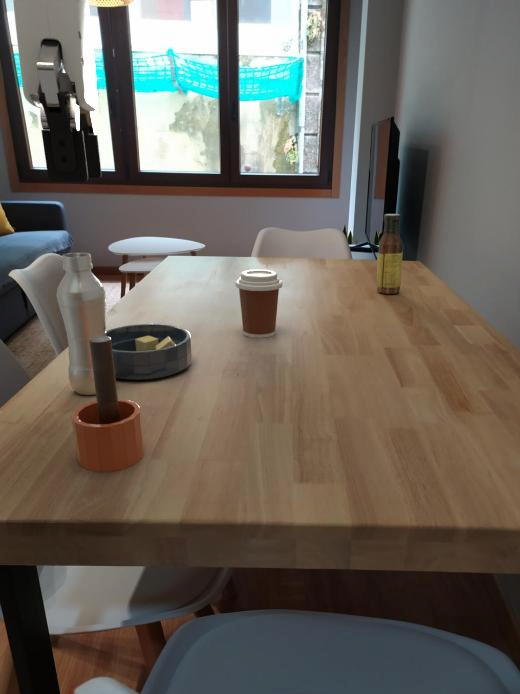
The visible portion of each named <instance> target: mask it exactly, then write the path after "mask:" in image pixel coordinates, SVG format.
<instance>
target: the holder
mask: <svg viewBox="0 0 520 694" xmlns="http://www.w3.org/2000/svg"><path fill="white" fill-rule="evenodd" d="M118 406H119V414H120V421H119V422H115V423H111V424H101V425H100V421H99V414H98V406H97V400H94V401H90V402H88V403H85V404H83V405H80V406H79V407H77V408H76V409H75V410H74V411H73V413H72V416H71V423H72V430H73V436H74V437H73V438H74V444H75V449H76V456H77V461H78V463H79V465H80V466H81V467H82V468H83V469H85V470H87V471H91V472H96V473H110V472H116V471H121V470H124V469H127V468H130V467H131V466H134V465H135V464H137V463H139V462H140V460H142V458H143V457H144V455H145V443H144V433H143V432H144V431H143V423H142V422H143V421H142V413H141V406H139V404H138V403H136V402H135V401H131V400H129V399H122V398H118Z"/></svg>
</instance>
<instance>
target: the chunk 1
mask: <svg viewBox="0 0 520 694" xmlns="http://www.w3.org/2000/svg"><path fill="white" fill-rule="evenodd" d="M135 342H136V351H150V350H156V345H158V344H159V343H158V339H157V338H154V337H151V336H145V337H141V338H137V339H135Z"/></svg>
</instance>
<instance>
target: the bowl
mask: <svg viewBox="0 0 520 694" xmlns="http://www.w3.org/2000/svg"><path fill="white" fill-rule="evenodd" d="M106 336H107V337H110V338H111V344H112V352H113V361H114V369H115V373H116V374H115V379H120V380H125V381H126V380H128V381H148V380H155V379H161V378H166V377H169V376H172V375H175V374H177V373H180V372H182V371H183V370H185V369H187V368H188V367H189V366H190V365H191V364H192V363H193V359H192V341H191V340H192V339H191V333H190V332H189V331H188V330H187V329H186V328H182V327H180V326H176V325H172V324H165V323H164V324H163V323H140V324H138V323H137V324H129V325H123V326H119V327H118V326H117V327H114V328H110V329H108V330H106ZM145 336H151V337H154V338H157V339H158V343H160V342H162V341H163V340H164V339H165V338H167V337H168V336H169V337H170V338H171V339H172V341H173V342H174V343H175V344H176V345H174V346H171V347H167V348H163V349H157V350H150V351H136V342H135V339H137V338H141V337H145Z"/></svg>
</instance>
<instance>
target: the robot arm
mask: <svg viewBox="0 0 520 694" xmlns="http://www.w3.org/2000/svg"><path fill="white" fill-rule="evenodd" d="M12 1H13V12H14V22H15V31H16V38H17V49H18V59H19V67H20V77H21V84H22V92H23V96H24V99H25V100H26V101H27V102H28V103H29V104H30V105H32V106H33V107H36V108H38V109H40V117H39V118H40V125H41V128H42V129H41V130H40V131H41V137H42V144H43V145H42V146H43V152H44V158H45V166H46V172H47V173H46V174H47V178H48V180H49V181H50V182H53V183H55V182H56V183H61V182H62V183H65V182H66V183H86V182H87V181H88V180H89V179H98V178H99V179H100V178H101V177H102V165H101V157H100V156H101V155H100V146H99V137H98V134H97V133H96V125H95V118H94V114H93V113H94V111H96V109H97V108H98V90H97V74H96V73H97V72H96V62H95V52H94V50H95V49H94V39H93V31H92V22H91V21H92V20H91V11H90V3H89V0H12Z"/></svg>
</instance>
